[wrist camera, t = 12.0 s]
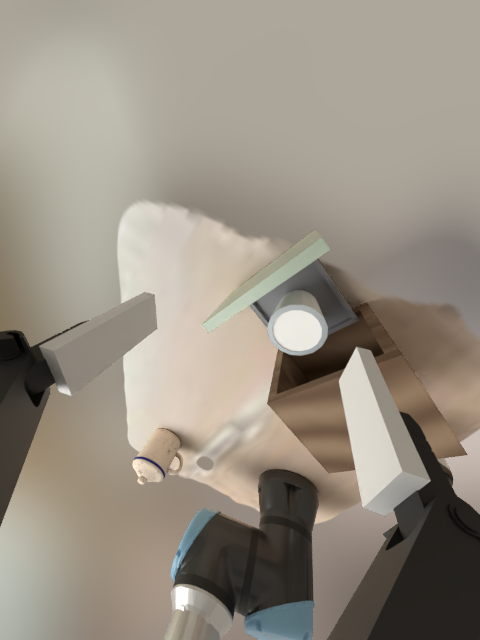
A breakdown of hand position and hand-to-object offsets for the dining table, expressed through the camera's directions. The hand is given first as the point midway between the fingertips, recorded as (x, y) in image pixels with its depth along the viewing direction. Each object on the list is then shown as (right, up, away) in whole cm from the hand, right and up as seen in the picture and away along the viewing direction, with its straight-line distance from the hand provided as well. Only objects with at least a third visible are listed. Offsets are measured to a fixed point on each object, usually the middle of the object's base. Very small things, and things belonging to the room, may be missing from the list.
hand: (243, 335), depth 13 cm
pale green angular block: (+8, +4, +17) cm, 19 cm away
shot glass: (+8, +3, +17) cm, 19 cm away
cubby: (+16, -5, +20) cm, 27 cm away
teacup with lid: (-20, -34, +47) cm, 61 cm away
